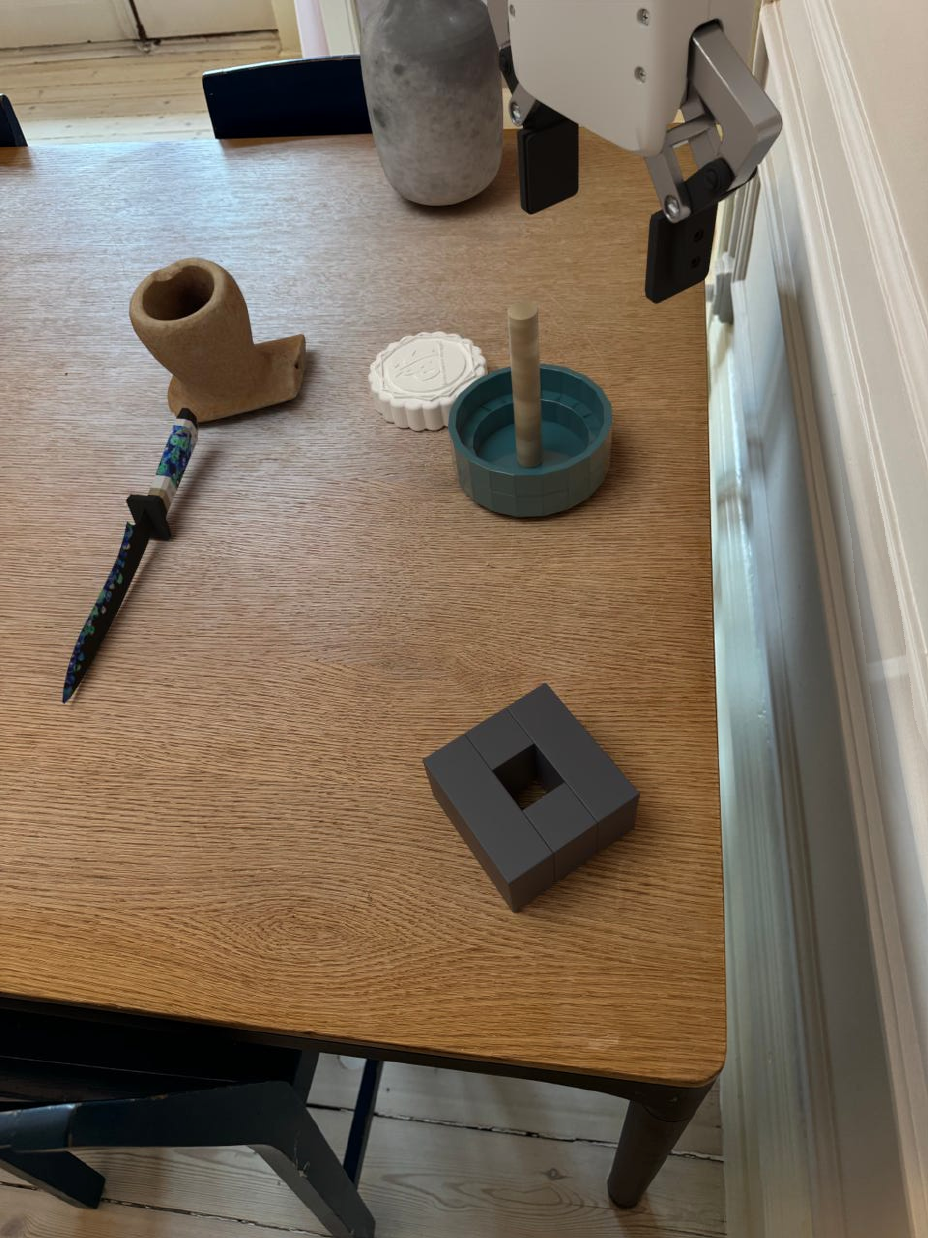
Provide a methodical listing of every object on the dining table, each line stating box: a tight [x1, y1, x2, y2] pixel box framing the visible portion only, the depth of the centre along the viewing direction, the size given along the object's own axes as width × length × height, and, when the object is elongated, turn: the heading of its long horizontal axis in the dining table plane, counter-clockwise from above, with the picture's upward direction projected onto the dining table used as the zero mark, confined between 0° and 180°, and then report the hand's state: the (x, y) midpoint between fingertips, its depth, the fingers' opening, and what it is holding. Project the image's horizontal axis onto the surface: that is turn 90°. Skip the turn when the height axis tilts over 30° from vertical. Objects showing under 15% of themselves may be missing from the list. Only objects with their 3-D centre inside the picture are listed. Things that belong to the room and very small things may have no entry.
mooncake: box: [367, 330, 489, 432], centre depth 86 cm, size 12×12×4 cm
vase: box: [359, 0, 504, 207], centre depth 98 cm, size 16×16×30 cm
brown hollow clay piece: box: [128, 257, 307, 423], centre depth 84 cm, size 15×12×15 cm
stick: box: [506, 300, 543, 468], centre depth 73 cm, size 2×2×16 cm
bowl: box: [447, 362, 613, 518], centre depth 78 cm, size 14×14×6 cm
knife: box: [61, 408, 199, 704], centre depth 76 cm, size 30×3×4 cm, turn 165°
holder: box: [422, 682, 641, 914], centre depth 58 cm, size 10×10×6 cm
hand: (609, 243), depth 41 cm, fingers open, 9 cm apart
